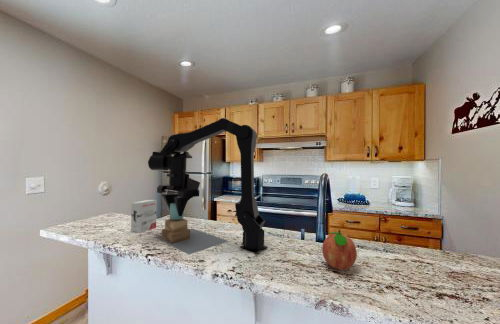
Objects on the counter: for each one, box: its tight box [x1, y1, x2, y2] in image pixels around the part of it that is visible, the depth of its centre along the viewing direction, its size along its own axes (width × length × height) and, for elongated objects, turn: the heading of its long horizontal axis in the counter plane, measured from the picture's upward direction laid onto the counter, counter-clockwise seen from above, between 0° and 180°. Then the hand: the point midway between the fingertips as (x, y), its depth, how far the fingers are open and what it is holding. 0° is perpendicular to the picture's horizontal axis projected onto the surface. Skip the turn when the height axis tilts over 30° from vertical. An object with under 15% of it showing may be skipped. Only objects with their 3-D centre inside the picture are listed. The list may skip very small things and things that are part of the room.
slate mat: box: [154, 228, 229, 255], centre depth 77 cm, size 22×16×1 cm
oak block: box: [164, 218, 188, 233], centre depth 77 cm, size 6×6×3 cm
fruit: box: [321, 229, 358, 271], centre depth 59 cm, size 9×10×10 cm
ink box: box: [130, 199, 157, 234], centre depth 87 cm, size 8×5×12 cm, turn 160°
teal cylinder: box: [169, 203, 184, 219], centre depth 77 cm, size 5×5×5 cm
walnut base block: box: [161, 227, 191, 244], centre depth 77 cm, size 7×7×3 cm
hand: (176, 214), depth 77 cm, fingers closed on teal cylinder, 5 cm apart
